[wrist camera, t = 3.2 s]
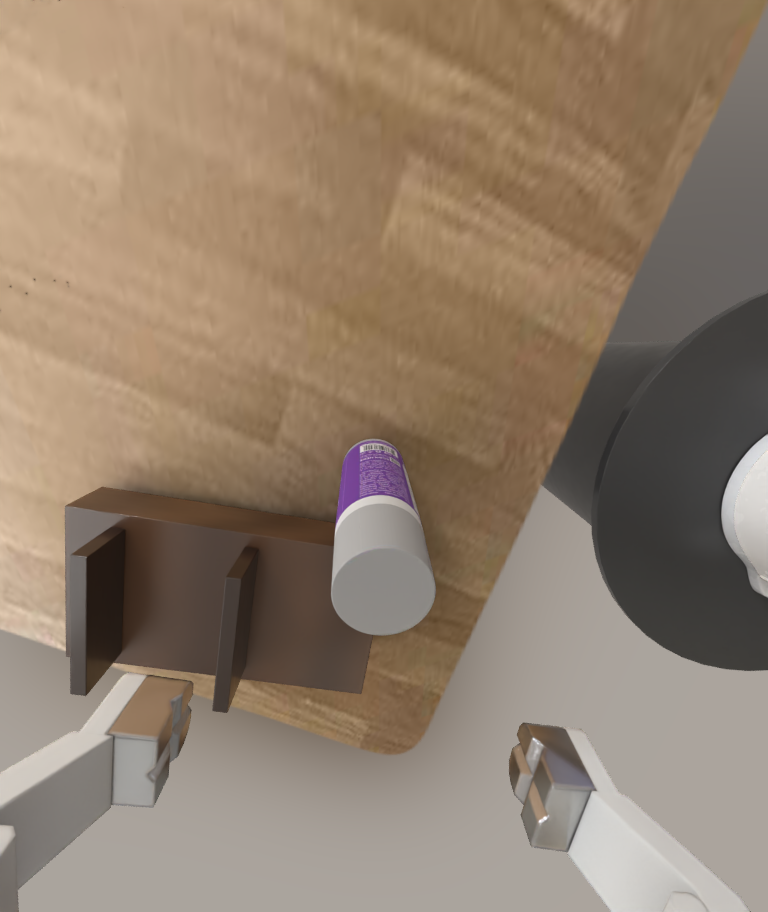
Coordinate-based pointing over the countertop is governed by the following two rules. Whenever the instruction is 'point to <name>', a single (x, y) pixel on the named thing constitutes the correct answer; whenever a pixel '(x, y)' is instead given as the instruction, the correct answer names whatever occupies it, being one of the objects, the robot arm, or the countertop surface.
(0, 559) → the countertop surface
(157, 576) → the brown two-slot stand
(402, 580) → the container
